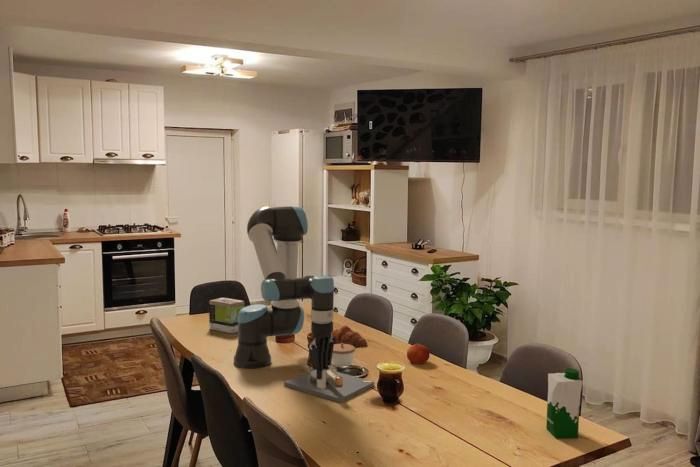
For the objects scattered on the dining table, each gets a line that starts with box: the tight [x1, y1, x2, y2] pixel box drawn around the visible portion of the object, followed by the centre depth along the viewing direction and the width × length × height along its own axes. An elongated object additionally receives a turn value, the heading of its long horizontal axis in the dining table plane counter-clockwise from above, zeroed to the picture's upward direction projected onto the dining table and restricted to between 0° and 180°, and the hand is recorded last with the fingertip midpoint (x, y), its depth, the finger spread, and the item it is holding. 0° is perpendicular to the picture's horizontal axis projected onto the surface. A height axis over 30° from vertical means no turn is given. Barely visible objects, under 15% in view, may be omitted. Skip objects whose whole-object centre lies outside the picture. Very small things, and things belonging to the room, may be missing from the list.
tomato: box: [406, 343, 430, 364], centre depth 250 cm, size 9×9×8 cm
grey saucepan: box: [309, 364, 343, 390], centre depth 218 cm, size 22×10×6 cm, turn 24°
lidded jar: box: [331, 343, 356, 368], centre depth 244 cm, size 11×11×9 cm
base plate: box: [283, 370, 375, 403], centre depth 221 cm, size 26×21×2 cm
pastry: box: [331, 325, 368, 347], centre depth 277 cm, size 17×15×8 cm
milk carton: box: [545, 368, 584, 439], centre depth 184 cm, size 9×9×20 cm
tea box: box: [208, 297, 245, 334], centre depth 295 cm, size 15×10×15 cm, turn 58°
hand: (321, 387), depth 208 cm, fingers closed
